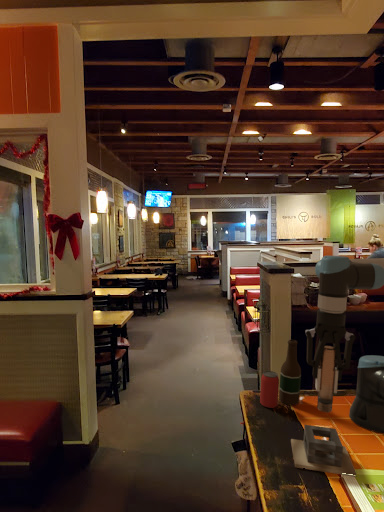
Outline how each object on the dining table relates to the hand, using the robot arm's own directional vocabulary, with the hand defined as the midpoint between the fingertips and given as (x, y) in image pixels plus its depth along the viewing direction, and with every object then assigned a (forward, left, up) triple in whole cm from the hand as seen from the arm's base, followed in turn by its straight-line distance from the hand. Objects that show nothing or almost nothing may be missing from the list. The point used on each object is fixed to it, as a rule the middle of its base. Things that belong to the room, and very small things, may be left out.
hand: (325, 389), depth 100 cm
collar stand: (0, 0, -21) cm, 21 cm away
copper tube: (0, 0, -6) cm, 6 cm away
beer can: (+14, -29, -21) cm, 38 cm away
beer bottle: (+6, -34, -21) cm, 40 cm away
